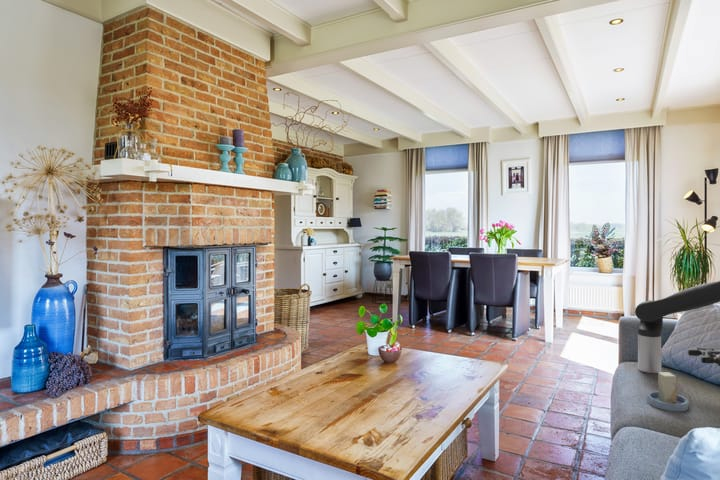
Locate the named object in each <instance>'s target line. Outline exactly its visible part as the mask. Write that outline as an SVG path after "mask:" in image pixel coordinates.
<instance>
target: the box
mask: <svg viewBox="0 0 720 480" xmlns="http://www.w3.org/2000/svg"><path fill="white" fill-rule="evenodd" d="M657 379H658V381H657V382H658V383H657V386H658V387H657V388H658V390H657V391H659V400H660V401H662V402H665V403H671V404H677V396H676V394H677V376H676V375H674V374H673V373H671V372H668V371H665V372H664V371H661V372H658V373H657Z"/></svg>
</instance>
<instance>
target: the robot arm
mask: <svg viewBox="0 0 720 480" xmlns="http://www.w3.org/2000/svg"><path fill="white" fill-rule="evenodd" d="M717 303H720V280H717V281H711V282H706V283H702V284H697V285H695V286H692V287H688V288H685V289H683V290H680V291H678V292H675V293H673V294H671V295H669V296H666V297H664V298H661V299H657V300H652V299H651V300H645V301H643V302H640V303H639V304H638V305H637V306H636V307H635V308H634V313H635V314H634V315H635V316H636V318H638V320H640V321H639V326H638V328H637V369H638V370H639V371H640V372H643V373H647V374H658V372H662V331H663V328H664V326H663V323H664V317H666V316H669V315H672V314H678V313H683V312H687V311H693V310H697V309H701V308H704V307H707V306H712V305H714V304H717ZM687 355H688V356H689V357H690V356H693V357H697V356H698V357H701V358H700V362H701V363H702V364H713V365H717V366H718V367H720V350H715V349H714V348H710V347H709V348H708V347H707V348H706V347H697V348H696V349H688V350H687Z"/></svg>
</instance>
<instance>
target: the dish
mask: <svg viewBox="0 0 720 480" xmlns="http://www.w3.org/2000/svg"><path fill="white" fill-rule="evenodd" d="M676 396H677V404H671V403H665V402H662V401H660V400H659V391H658V390H653V391H649V392H647V396H646V400H647V403H648V404H649V405H650V406H653V407H655V408H658V409H660V410H665V411H669V412H684V411H688V410H689V399H688V398H686V397H685V396H683V395H680V394H677V393H676Z"/></svg>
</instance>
